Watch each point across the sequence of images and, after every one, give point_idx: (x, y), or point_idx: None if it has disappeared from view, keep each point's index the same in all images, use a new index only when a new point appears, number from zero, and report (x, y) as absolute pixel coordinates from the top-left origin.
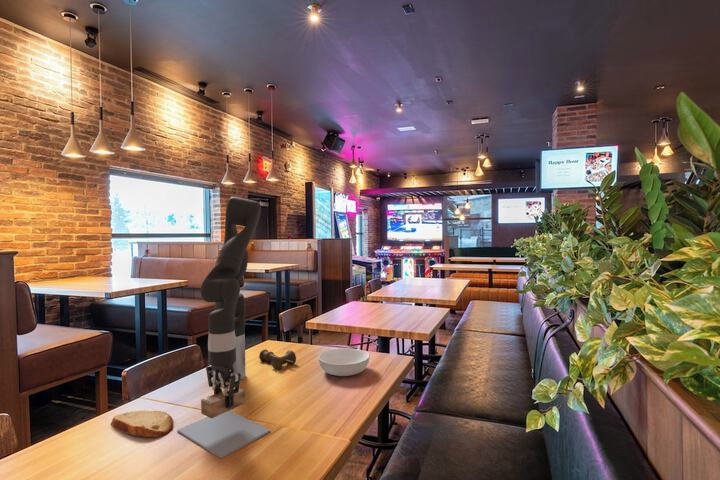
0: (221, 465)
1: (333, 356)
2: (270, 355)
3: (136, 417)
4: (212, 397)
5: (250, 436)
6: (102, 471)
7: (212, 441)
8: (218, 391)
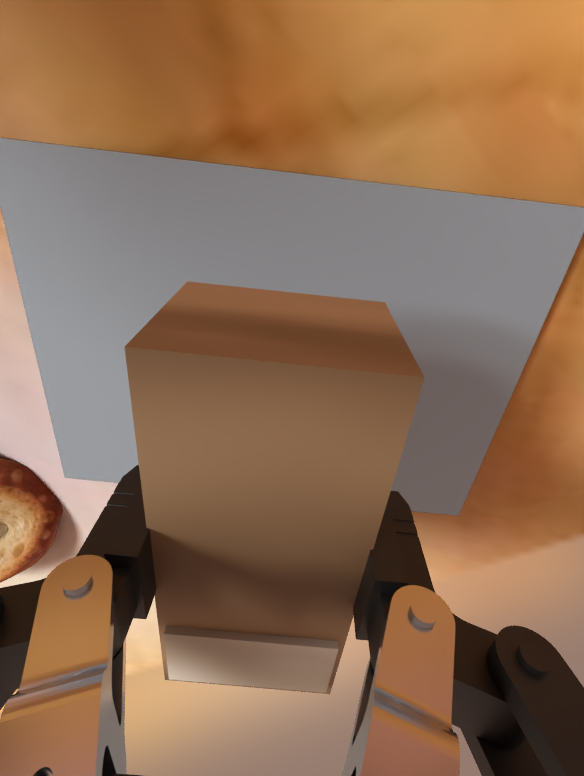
0: (488, 529)
1: None
2: None
3: None
4: (225, 648)
5: (494, 345)
6: (150, 661)
7: None
8: (147, 578)
